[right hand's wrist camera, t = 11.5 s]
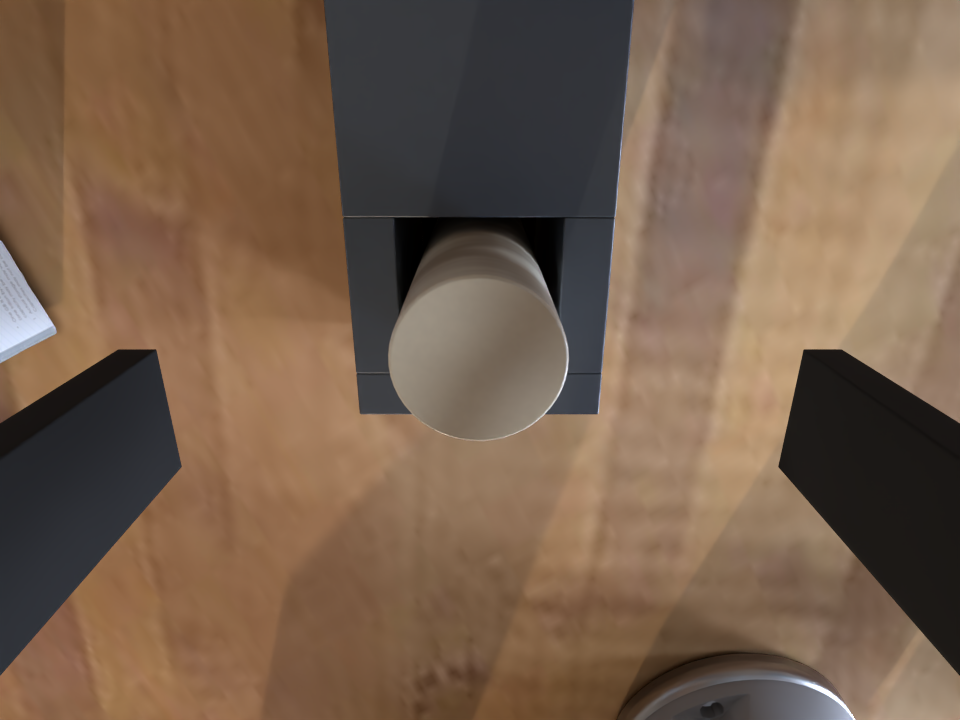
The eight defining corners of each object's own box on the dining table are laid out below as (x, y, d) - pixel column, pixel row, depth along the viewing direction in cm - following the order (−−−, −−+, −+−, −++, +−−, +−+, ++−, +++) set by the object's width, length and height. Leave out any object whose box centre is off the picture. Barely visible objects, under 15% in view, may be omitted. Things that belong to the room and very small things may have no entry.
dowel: (539, 213, 26) (599, 311, 13) (505, 299, 28) (529, 463, 15) (449, 180, 26) (419, 247, 13) (420, 269, 27) (365, 411, 14)
